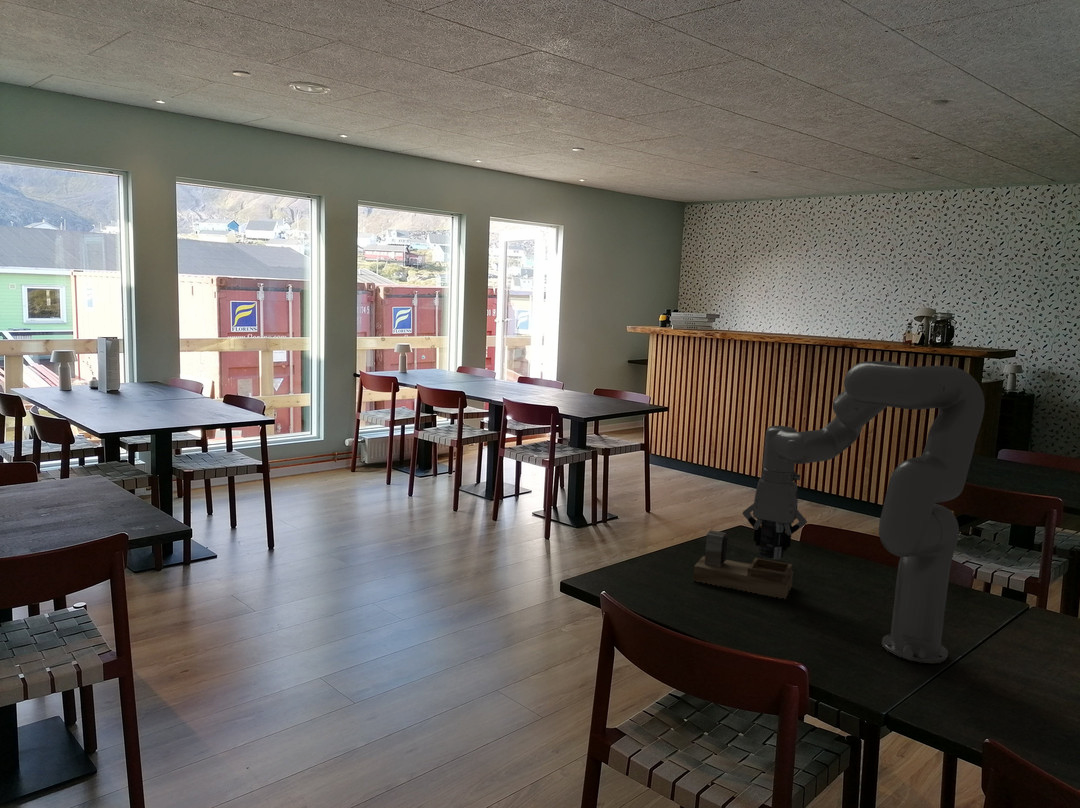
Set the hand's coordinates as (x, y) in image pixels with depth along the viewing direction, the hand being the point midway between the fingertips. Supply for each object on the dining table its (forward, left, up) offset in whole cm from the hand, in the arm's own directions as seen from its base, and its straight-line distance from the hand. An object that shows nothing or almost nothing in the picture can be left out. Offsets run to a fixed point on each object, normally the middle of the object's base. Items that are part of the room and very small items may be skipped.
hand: (771, 546), depth 195 cm
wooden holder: (0, +6, -11) cm, 13 cm away
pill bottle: (0, 0, -3) cm, 3 cm away
